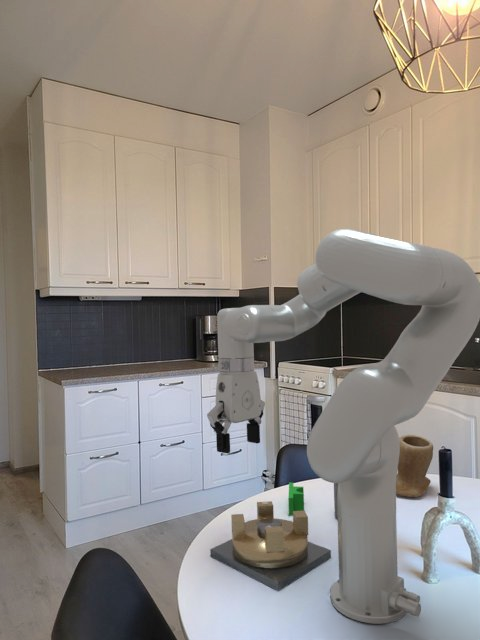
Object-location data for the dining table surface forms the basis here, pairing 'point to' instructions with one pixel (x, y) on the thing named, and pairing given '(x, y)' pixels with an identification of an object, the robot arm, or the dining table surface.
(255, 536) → the ring nut
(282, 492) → the dining table surface
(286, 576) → the mounting plate
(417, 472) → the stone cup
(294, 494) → the pipe clamp
